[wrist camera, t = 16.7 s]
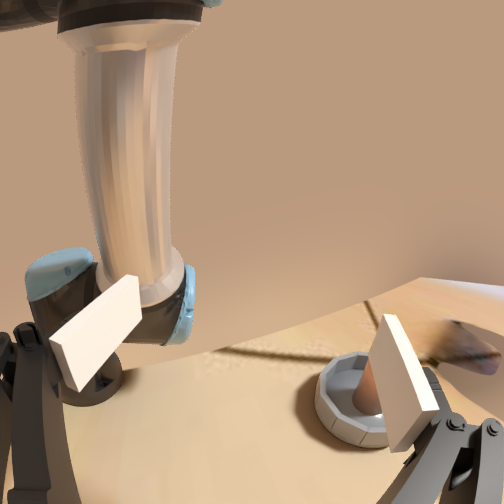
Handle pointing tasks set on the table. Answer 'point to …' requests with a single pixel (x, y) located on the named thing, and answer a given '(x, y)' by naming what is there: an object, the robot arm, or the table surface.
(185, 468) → the table surface
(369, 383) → the terracotta jar
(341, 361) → the slate bowl
